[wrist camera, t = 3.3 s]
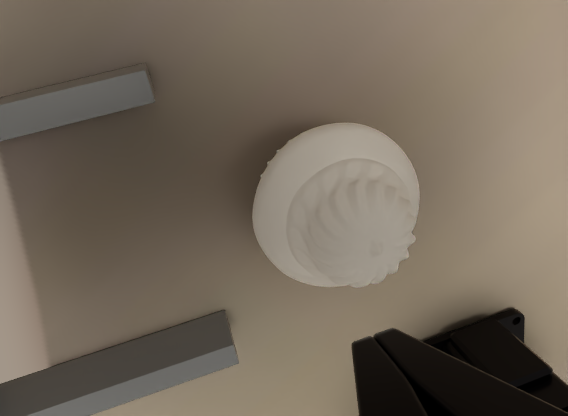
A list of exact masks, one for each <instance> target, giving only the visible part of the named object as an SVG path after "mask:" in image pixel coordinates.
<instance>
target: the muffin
mask: <svg viewBox="0 0 568 416" xmlns="http://www.w3.org/2000/svg"><path fill="white" fill-rule="evenodd" d="M267 165H268V166H267V168H266V170H265V171H264V173H263V174H261V175H260V177H261V180H260V182H259V185H258V188H257V189H256V194H255V198H254V203H253V211H252V222H253V228H254V233H255V236H256V239H257V241H258V243H259V245H260V247H261V249H262V250H263V252H264V253H265V255H266V256H267V257H268V259H269V260H270V261H271V262H272V263H273V264H274V265H275V266H276V267H277V268H278V269H279V270H280V271H281V272H283V273H284V274H285V275H287V276H288V277H290V278H292V279H294V280H296V281H299V282H302V283H305V284H309V285H314V286H320V287H341V286H347V285H350V286H352V287H355V288H360V287H364V286H367V285H368V284H369V283H371V284H378V283H380V282H382V281H383V280H384V279H385V277H386V275H387V274H394V273H396V272H397V271H398V267H399V262H400V261H402V260H406V259H408V258H409V253H408V250H407V249H408V247H409V246H410V245H411V244H413V243H414V242H415V241H416V237H415V236H414V235H413V234H412V231H413V229H414V226H415V225H416V222H417V216H418V211H419V202H420V190H419V183H418V178H417V175H416V172H415V170H414V167H413V165H412V163H411V162H410V160H409V158H408V157H407V155H406V154H405V153H404V151H403V150H402V149H401V148H400V147H399V146H398V145H397V144H396V143H395V142H394V141H393V140H392V139H391V138H389V137H388V136H387V135H385V134H384V133H382V132H380V131H378V130H376V129H374V128H372V127H369V126H366V125H362V124H358V123H347V122H345V123H332V124H326V125H322V126H318V127H315V128H312V129H310V130H307V131H305V132H301V134H299V135H298V136H296V137H295V138H293V139H292V140H288V143H287V144H286V145H285V146H284V147H282V148H281V149H278V150H277V151H276V155H275V156H274V158H273V159H272V160H271V161H268V162H267Z"/></svg>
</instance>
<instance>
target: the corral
mask: <svg viewBox="0 0 568 416" xmlns="http://www.w3.org/2000/svg"><path fill="white" fill-rule="evenodd" d="M154 102H155V90H154V87H153V84H152V81H151V78H150V74H149V71H148V68H147V65H146V63H143V64H138V65H134V66H130V67H126V68H122V69H118V70H113V71H109V72H105V73H101V74H97V75H93V76H88V77H84V78H80V79H76V80H72V81H68V82H63V83H59V84H55V85H51V86H47V87H43V88H38V89H34V90H30V91H26V92H22V93H18V94H13V95H9V96H5V97H1V98H0V141H4V140H8V139H12V138H16V137H20V136H24V135H28V134H32V133H36V132H40V131H44V130H48V129H52V128H55V127H59V126H63V125H67V124H71V123H75V122H79V121H83V120H87V119H91V118H95V117H99V116H103V115H107V114H111V113H115V112H119V111H122V110H126V109H130V108H134V107H138V106H142V105H146V104H150V103H154ZM238 363H239V360H238V356H237V353H236V349H235V345H234V341H233V337H232V333H231V329H230V325H229V322H228V319H227V316H226V313H225V310H223V311H220V312H217V313H214V314H211V315H208V316H205V317H202V318H199V319H196V320H193V321H190V322H187V323H184V324H181V325H177V326H174V327H171V328H168V329H165V330H162V331H159V332H156V333H153V334H150V335H147V336H144V337H141V338H138V339H135V340H132V341H129V342H126V343H123V344H120V345H117V346H114V347H111V348H108V349H105V350H102V351H99V352H96V353H93V354H90V355H87V356H84V357H80V358H77V359H74V360H71V361H68V362H65V363H62V364H59V365H56V366H53V367H50V368H47V369H44V370H41V371H38V372H35V373H32V374H29V375H26V376H23V377H20V378H17V379H14V380H11V381H8V382H5V383H2V384H0V416H90V415H93V414H95V413H98V412H101V411H104V410H107V409H110V408H113V407H115V406H118V405H121V404H124V403H127V402H130V401H133V400H135V399H138V398H141V397H144V396H147V395H150V394H153V393H155V392H158V391H161V390H164V389H167V388H170V387H173V386H175V385H178V384H181V383H184V382H187V381H190V380H193V379H196V378H198V377H201V376H204V375H207V374H210V373H213V372H216V371H218V370H221V369H224V368H227V367H230V366H233V365H236V364H238Z"/></svg>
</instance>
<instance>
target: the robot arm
mask: <svg viewBox="0 0 568 416" xmlns="http://www.w3.org/2000/svg"><path fill="white" fill-rule="evenodd" d="M524 319H525V318H524V315H523V314H522V313H521V312H520V311H518V310H517V309H512V310H509V311H506V312H503V313H501V314H498V315H495V316H492V317H490V318H487V319H484V320H481V321H479V322H476V323H473V324H471V325H468V326H465V327H462V328H460V329H457V330H454V331H451V332H449V333H446V334H443V335H440V336H438V337H435V338H432V339H429V340H427V341H424V342H422V341H420V340H418V339H416V338H414V337H412V336H410V335H407V334H405V333H403V332H401V331H399V330H397V329H394V328H391V329H388V330H385V331H382V332H379V333H376V334H375V335H374V336H373V337H371V336H368V337H365V338H363V339H360V340H357V341H354V342H353V343H352V355H353V364H354V373H355V383H356V392H357V401H358V410H359V416H568V385H567V384H566V383H565V382H564V381H563V380H561V379H560V378H559V377H558V376H557V375H556V374H555V373H554V372H552V371H553V369H552V368H551V367H550V366H549V365H548V364H547V363H546V362H545V361H543V360H542V359H541V358H540V357H539V356H538V355H537V354H535V353H534V352H533V351H532V350H531V349H530V348H529V347H527V346H526V345H525V344H524Z"/></svg>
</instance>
